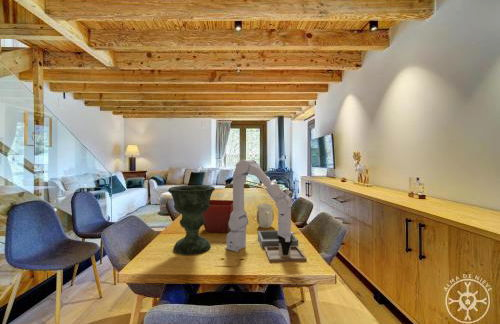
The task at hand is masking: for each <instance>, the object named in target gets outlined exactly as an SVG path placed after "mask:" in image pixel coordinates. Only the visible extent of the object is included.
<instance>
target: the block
mask: <svg viewBox="0 0 500 324" xmlns="http://www.w3.org/2000/svg"><path fill="white" fill-rule="evenodd" d="M279 255H280V257H289V256H290V248H289V253H288V255H283V252H282V246H281V243H279Z"/></svg>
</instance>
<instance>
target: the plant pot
mask: <svg viewBox="0 0 500 324" xmlns="http://www.w3.org/2000/svg"><path fill="white" fill-rule="evenodd" d="M209 204H210V207H209V209H208V210H207V211H205V212H203V214H202V217H203V219H204V220H205V222H204V224H203V228H204V230H205V232H208V233H227V232H228V231H229V229H230V228H229V225H228V222H229V220H230V215H231V213H232V212H233V199H232V200H231V199H230V200H227V199H210V202H209Z"/></svg>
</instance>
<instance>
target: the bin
mask: <svg viewBox="0 0 500 324" xmlns="http://www.w3.org/2000/svg"><path fill="white" fill-rule="evenodd" d="M277 235H278V230H257V241H258V242H259V244H260V246H261V248H262V249H265V247H271V246H279V240H278V237H277ZM290 239H292V240H293V241H292V243H291V245H290V246H298V247H299V239H298V238H297V237H296V236H295V235H294V234H293V235H291V236H290Z"/></svg>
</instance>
